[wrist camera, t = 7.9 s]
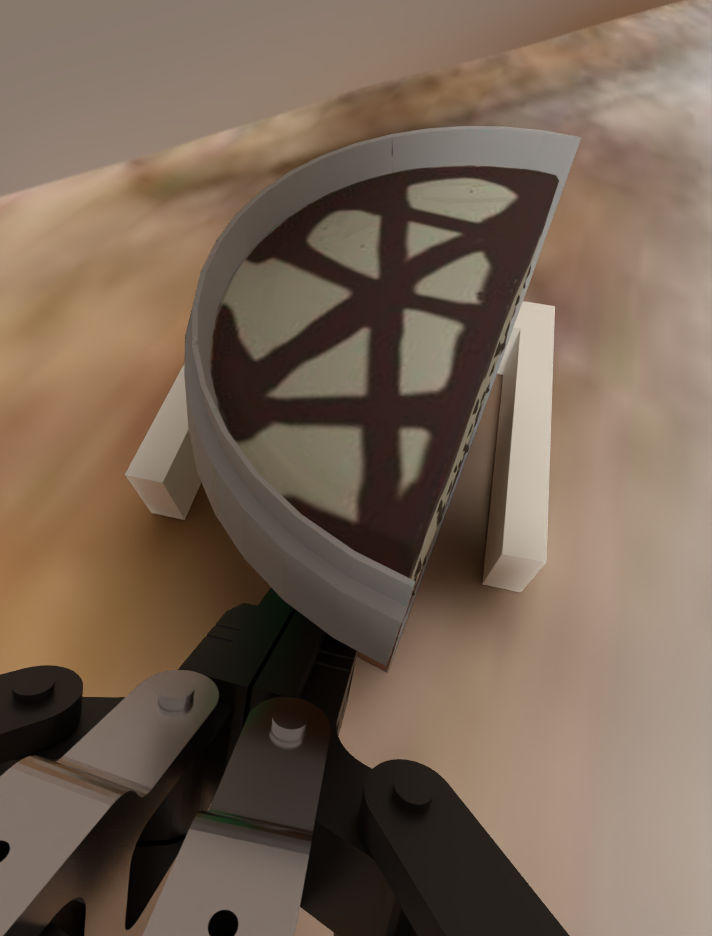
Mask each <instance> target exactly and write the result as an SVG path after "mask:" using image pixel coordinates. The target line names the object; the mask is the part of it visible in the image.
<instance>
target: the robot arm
mask: <svg viewBox="0 0 712 936" xmlns="http://www.w3.org/2000/svg"><path fill="white" fill-rule="evenodd" d="M356 655H357V650H355V649H353V648H351V647H349V646H347V645H346V644H344V643H342V642H340V641H338V640H336V639H334V638H333V637H331V636H330V635H329V634H327V633H326V632H325V631H323V630H322V629H321V628H320V627H318V626H317V625H316V624H314V623H313V622H312V621H310V620H309V619H308V618H306V617H305V616H304V615H302V614H301V613H300V612H298V611H297V610H296V609H294V608H293V607H292V606H290V605H289V604H288V603H287V602H285V601H284V600H283V599H282V598H281V597H280V596H279V595H278V594H277V593H276V592H275V591H274V590H273V589H272V588H271V589H270V590H269V591H268V593H267V594H266V595H265V597H264V598H263V600H262V601H261V602H260V604H259V605H258V606H255V605H251V604H247V603H243V604H241V605H239V606H237V607H235V608H233V609H231V610H229V611H227V612H226V613H225V614H224V615H223V616H222V617H221V619H220V620H219V621H218V622H217V623H216V626H215V627H213V628H212V629H211V631H210V632H209V633H208V634H207V637H205V638H204V639H203V640H202V641H201V643H200V644H199V645H198V646H197V647H196V649H195V650H194V651H193V652H192V653H191V655H190V656H189V657H188V658H187V659H186V661H185V662H184V663H183V664H182V665H181V667H180V668H179V669H178V670H172V671H166V672H162V673H158V674H155V675H153V676H151V677H149V678H147V679H146V680H144V681H143V682H142V683H140V684H139V685H138V686H137V687H136V688H135V689H134V690H133V691H132V692H131V693H130V694H129V695H128V696H126V697H118V698H111V697H82V694H83V682H82V680H81V678H80V677H79V675H78V674H76V673H75V672H74V671H72V670H70V669H67V668H64V667H59V666H35V667H29V668H24V669H20V670H16V671H13V672H9V673H5V674H1V675H0V936H295V931H296V925H297V920H298V914H299V909H300V907H301V908H303V909H304V910H305V911H306V912H308V913H309V914H310V915H312V916H313V917H314V918H316V919H317V920H318V921H320V922H321V923H322V924H324V925H325V926H326V927H327V928H329V929H330V930H331V931H333V932H334V936H569V935H568V933H567V932H566V931H565V930H564V928H563V927H562V926H561V925H560V923H559V922H558V921H557V919H556V918H555V917H554V916H553V914H552V913H551V912H550V911H549V909H548V908H547V907H546V906H545V904H544V903H543V902H542V901H541V899H540V898H539V897H538V896H537V894H536V893H535V892H534V891H533V889H532V888H531V887H530V886H529V884H528V883H527V882H526V881H525V879H524V878H523V877H522V876H521V874H520V873H519V872H518V871H517V869H516V868H515V867H514V866H513V864H512V863H511V862H510V861H509V859H508V858H507V857H506V856H505V854H504V853H503V852H502V851H501V849H500V848H499V847H498V846H497V844H496V843H495V842H494V840H493V839H492V838H491V837H490V835H489V834H488V833H487V832H486V830H485V829H484V828H483V827H482V825H481V824H480V823H479V822H478V820H477V819H476V818H475V817H474V815H473V814H472V813H471V812H470V810H469V809H468V808H467V807H466V805H465V804H464V803H463V802H462V800H461V799H460V798H459V797H458V795H457V794H456V793H455V792H454V790H453V789H452V788H451V787H450V785H449V784H448V783H447V782H446V781H445V780H444V779H443V778H442V777H441V776H440V775H439V774H438V773H437V772H435V771H434V770H432V769H431V768H429V767H427V766H425V765H423V764H420V763H417V762H414V761H410V760H402V759H397V760H389V761H385V762H383V763H380V764H379V765H377V766H376V767H374V768H373V769H371V768H370V767H368V766H366V765H364V764H363V763H361V762H360V761H358V760H357V759H355V758H354V757H353V756H352V755H351V754H349V752H348V751H347V750H346V749H345V748H344V746H343V745H342V743H341V742H340V739H339V737H338V735H339V732H340V728H341V724H342V720H343V717H344V713H345V709H346V706H347V702H348V696H349V691H350V686H351V681H352V676H353V670H354V665H355V660H356ZM211 803H212V804H211ZM210 805H211V806H210ZM209 807H210V808H209ZM208 809H209V810H208Z"/></svg>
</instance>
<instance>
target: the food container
mask: <svg viewBox="0 0 712 936" xmlns="http://www.w3.org/2000/svg"><path fill="white" fill-rule="evenodd" d="M580 140H581V137H578V136H572V135H567V134H561V133H556V132H550V131H545V130H535V129H524V128H514V127H494V126H459V127H443V128H428V129H421V130H415V131H408V132H402V133H395V134H390V135H386V136H382V137H378V138H374V139H370V140H366V141H362V142H358V143H354V144H351V145H349V146H346V147H343V148H340V149H338V150H335V151H332V152H329V153H327V154H324V155H321V156H319V157H317V158H315V159H313V160H311V161H309V162H307V163H305V164H303V165H301V166H299V167H297V168H295V169H293V170H291V171H290V172H288V173H287V174H285V175H284V176H282V177H281V178H279V179H278V180H276V181H275V182H273V183H272V184H270V185H269V186H268V187H266V188H265V189H263V190H262V191H261V192H260V193H258V194H257V195H256V196H255V197H254V198H253V199H252V200H251V201H250V202H249V203H248V204H247V205H246V206H244V207H243V208H242V209H241V210H240V211H239V212H238V213H237V214H236V215H235V217H234V218H233V219H232V221H231V222H230V223H229V224H228V226H227V227H226V228H225V230H224V231H223V232H222V234H221V235H220V236H219V238H218V239H217V240H216V242H215V244H214V246H213V248H212V250H211V252H210V254H209V256H208V258H207V260H206V263H205V265H204V267H203V269H202V271H201V274H200V278H199V282H198V286H197V290H196V294H195V298H194V302H193V307H192V311H191V315H190V319H189V323H188V327H187V331H186V335H185V368H184V377H185V390H186V403H187V416H188V429H189V434H190V439H191V444H192V449H193V454H194V459H195V464H196V469H197V472H198V475H199V477H200V480H201V482H202V484H203V487H204V489H205V492H206V494H207V496H208V499H209V501H210V504H211V506H212V509H213V511H214V513H215V515H216V517H217V518H218V520H219V521H220V523H221V524H222V526H223V527H224V529H225V530H226V532H227V534H228V535H229V537H230V538H231V540H232V541H233V543H234V544H235V546H236V547H237V549H238V550H239V552H240V553H241V555H242V556H243V558H244V559H245V560H246V561H247V562H248V563H249V564H250V565H251V566H252V568H253V569H254V570H255V571H256V572H257V573H258V574H259V575H260V576H261V577H262V578H263V579H264V580H265V581H266V582H267V583H268V584H269V586H270V587H271V588H272V589H273V590H274V591H275V592H276V593H277V594H278V595H279V596H280V597H281V598H282V599H283V600H284V601H285V602H287V603H288V604H289V605H290V606H292V607H293V608H294V609H296V610H297V611H298V612H300V613H301V614H302V615H304V616H305V617H306V618H308V619H309V620H310V621H312V622H313V623H314V624H316V625H317V626H318V627H320V628H321V629H322V630H323V631H325V632H326V633H327V634H329V635H330V636H331V637H333V638H334V639H336V640H338V641H340V642H342V643H344V644H346V645H347V646H349V647H351V648H353V649H355V650H357V656H358V657H359V658H361V659H362V660H364V661H366V662H368V663H370V664H372V665H374V666H376V667H378V668H380V669H381V670H383V671H385V672H387V673H388V670H389V667H390V664H391V662H392V659H393V656H394V654H395V651H396V648H397V645H398V643H399V640H400V637H401V634H402V632H403V629H404V626H405V624H406V621H407V618H408V615H409V613H410V610H411V607H412V605H413V602H414V599H415V596H416V594H417V591H418V588H419V586H420V583H421V580H422V577H423V575H424V572H425V569H426V567H427V564H428V561H429V558H430V556H431V553H432V550H433V547H434V545H435V542H436V539H437V537H438V534H439V531H440V528H441V526H442V523H443V520H444V518H445V515H446V512H447V509H448V507H449V504H450V501H451V499H452V496H453V493H454V490H455V488H456V485H457V482H458V480H459V477H460V474H461V471H462V469H463V466H464V463H465V460H466V458H467V455H468V452H469V450H470V447H471V444H472V441H473V439H474V436H475V433H476V431H477V428H478V425H479V422H480V419H481V417H482V414H483V411H484V408H485V405H486V403H487V400H488V397H489V394H490V391H491V389H492V386H493V383H494V380H495V377H496V375H497V372H498V369H499V366H500V363H501V361H502V358H503V355H504V352H505V350H506V347H507V344H508V341H509V338H510V336H511V333H512V330H513V327H514V324H515V322H516V319H517V316H518V313H519V310H520V308H521V305H522V302H523V299H524V296H525V294H526V291H527V288H528V285H529V282H530V280H531V277H532V274H533V271H534V269H535V266H536V263H537V260H538V257H539V255H540V252H541V249H542V246H543V243H544V241H545V238H546V235H547V232H548V229H549V227H550V224H551V221H552V218H553V215H554V213H555V210H556V208H557V205H558V202H559V199H560V196H561V193H562V191H563V188H564V185H565V182H566V179H567V177H568V174H569V171H570V168H571V165H572V163H573V160H574V157H575V154H576V151H577V148H578V146H579V143H580Z"/></svg>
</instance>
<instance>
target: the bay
mask: <svg viewBox="0 0 712 936" xmlns="http://www.w3.org/2000/svg"><path fill="white" fill-rule="evenodd" d="M554 317H555V306H549V305H543V304H537V303H530V302H524V301H523V302H522V305H521V308H520V310H519V313H518V316H517V319H516V322H515V324H514V327H513V330H512V333H511V336H510V338H509V341H508V344H507V347H506V350H505V352H504V355H503V358H502V361H501V363H500V366H499V369H498V372H497V374H500V375H503V382H502V392H501V402H500V412H499V422H498V432H497V442H496V453H495V463H494V473H493V483H492V493H491V503H490V513H489V523H488V533H487V543H486V553H485V563H484V573H483V583H482V584H483V585H488V586H493V587H497V588H502V589H506V590H511V591H516V592H520V593H521V592H522V590H523V589H524V588H525V587H526V586H527V585H528V583H529V582H530V581H531V580H532V579H533V578H534V577H535V575H536V574H537V573H538V572H539V571H540V570H541V568H542V567H543V566H544V565H545V564H546V557H547V527H548V497H549V467H550V437H551V407H552V377H553V347H554ZM184 368H185V363H184V365H183V367H182V369H181V371H180V373H179V375H178V376H177V378H176V380H175V382H174V384H173V386H172V388H171V390H170V391H169V393H168V395H167V397H166V399H165V401H164V403H163V404H162V406H161V408H160V410H159V412H158V414H157V416H156V418H155V419H154V421H153V423H152V425H151V427H150V429H149V431H148V432H147V434H146V436H145V438H144V440H143V442H142V444H141V446H140V447H139V449H138V451H137V453H136V455H135V457H134V459H133V460H132V462H131V464H130V466H129V468H128V470H127V472H126V474H125V476H126V477H127V479H128V480H129V482H130V483H131V484H132V486H133V487H134V489H135V490H136V492H137V493H138V494H139V496H140V497H141V499H142V500H143V501H144V503H145V504H146V506H147V507H148V509H149V510H150V511H151V513H154V514H159V515H164V516H168V517H173V518H178V519H182V520H185V519H186V516H187V514H188V512H189V510H190V507H191V505H192V503H193V501H194V498H195V496H196V494H197V491H198V489H199V487H200V485H201V480H200V477H199V475H198V472H197V469H196V464H195V459H194V454H193V449H192V444H191V439H190V434H189V429H188V416H187V403H186V390H185V377H184Z"/></svg>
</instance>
